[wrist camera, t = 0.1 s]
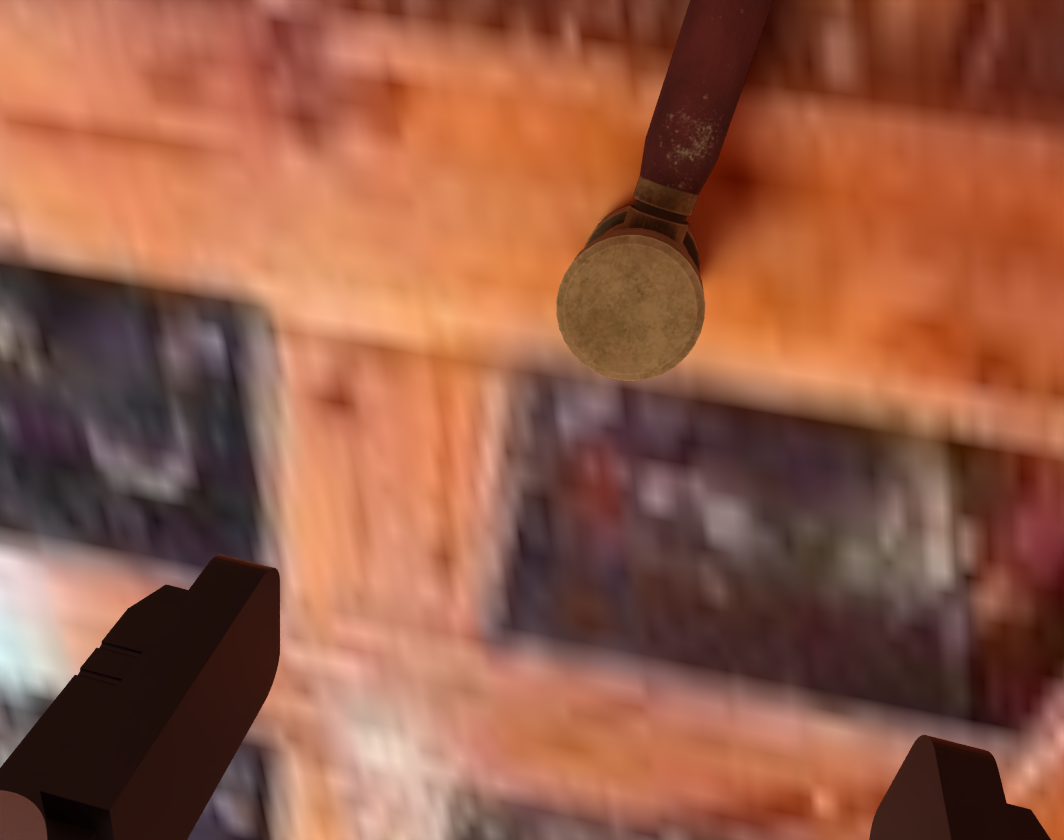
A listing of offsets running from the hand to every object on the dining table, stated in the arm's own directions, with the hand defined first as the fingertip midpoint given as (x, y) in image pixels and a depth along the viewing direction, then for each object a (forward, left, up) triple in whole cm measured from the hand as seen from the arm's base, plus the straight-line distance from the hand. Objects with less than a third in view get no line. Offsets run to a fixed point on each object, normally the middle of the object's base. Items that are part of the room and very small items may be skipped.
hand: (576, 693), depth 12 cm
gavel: (-2, 0, -31) cm, 31 cm away
